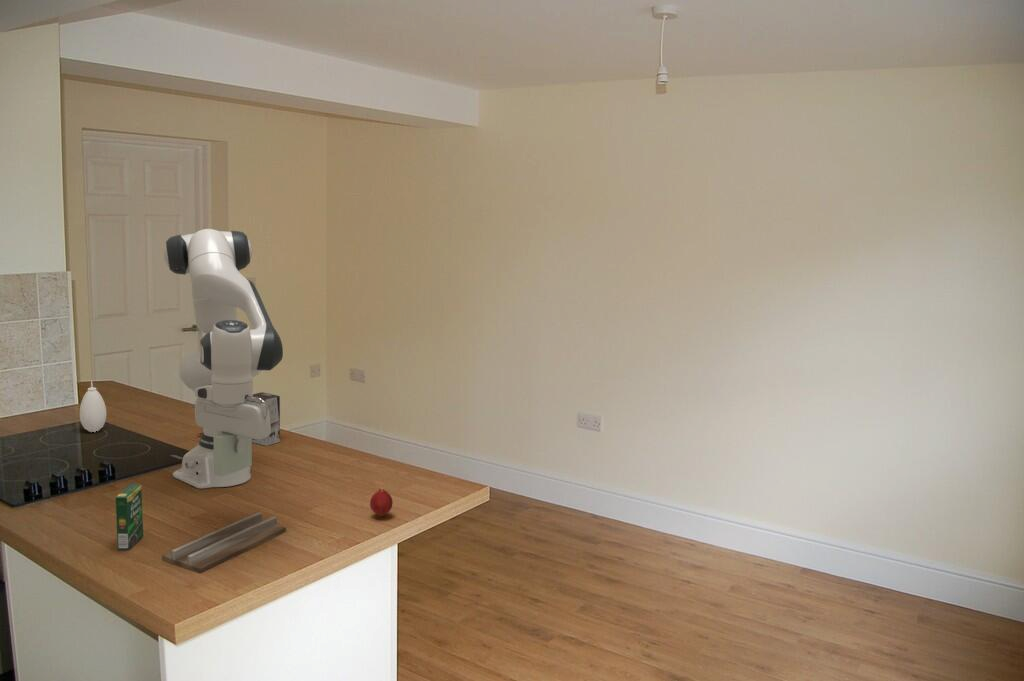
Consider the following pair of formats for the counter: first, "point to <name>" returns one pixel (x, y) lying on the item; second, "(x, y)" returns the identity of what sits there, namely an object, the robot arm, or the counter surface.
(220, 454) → the door panel
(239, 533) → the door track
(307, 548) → the counter surface
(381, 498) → the onion
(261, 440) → the coffee box
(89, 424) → the sauce bottle
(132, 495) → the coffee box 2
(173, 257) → the robot arm
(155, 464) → the counter surface
